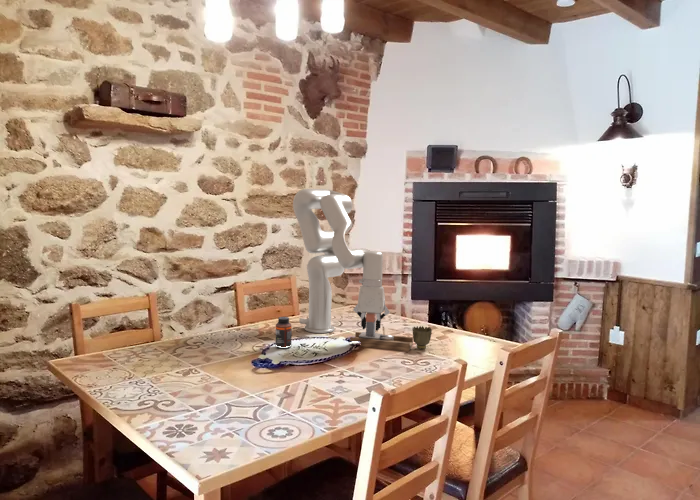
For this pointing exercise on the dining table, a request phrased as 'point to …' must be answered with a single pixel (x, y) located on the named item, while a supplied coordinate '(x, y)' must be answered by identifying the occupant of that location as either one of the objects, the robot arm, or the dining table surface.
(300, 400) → the dining table surface
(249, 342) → the dining table surface
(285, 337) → the supplement bottle
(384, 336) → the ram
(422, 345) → the cup
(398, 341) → the board
